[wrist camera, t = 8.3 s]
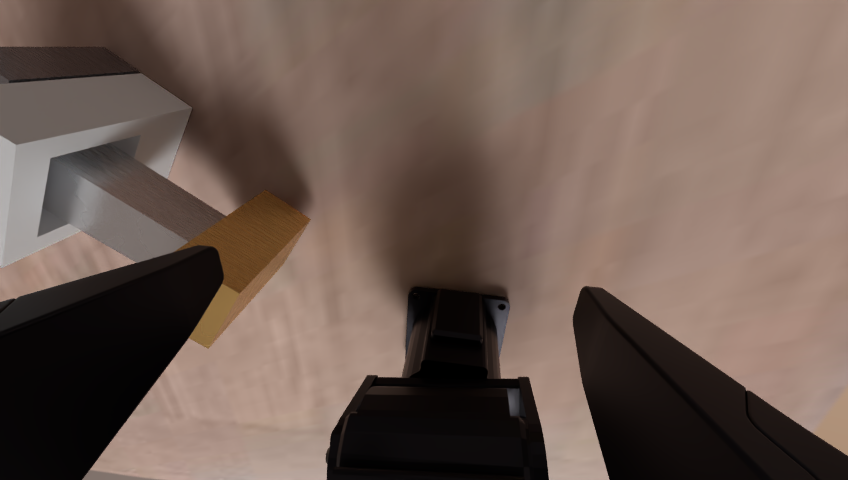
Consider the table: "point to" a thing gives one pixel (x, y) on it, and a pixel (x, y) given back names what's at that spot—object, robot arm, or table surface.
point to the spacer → (59, 63)
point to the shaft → (173, 224)
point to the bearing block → (74, 143)
